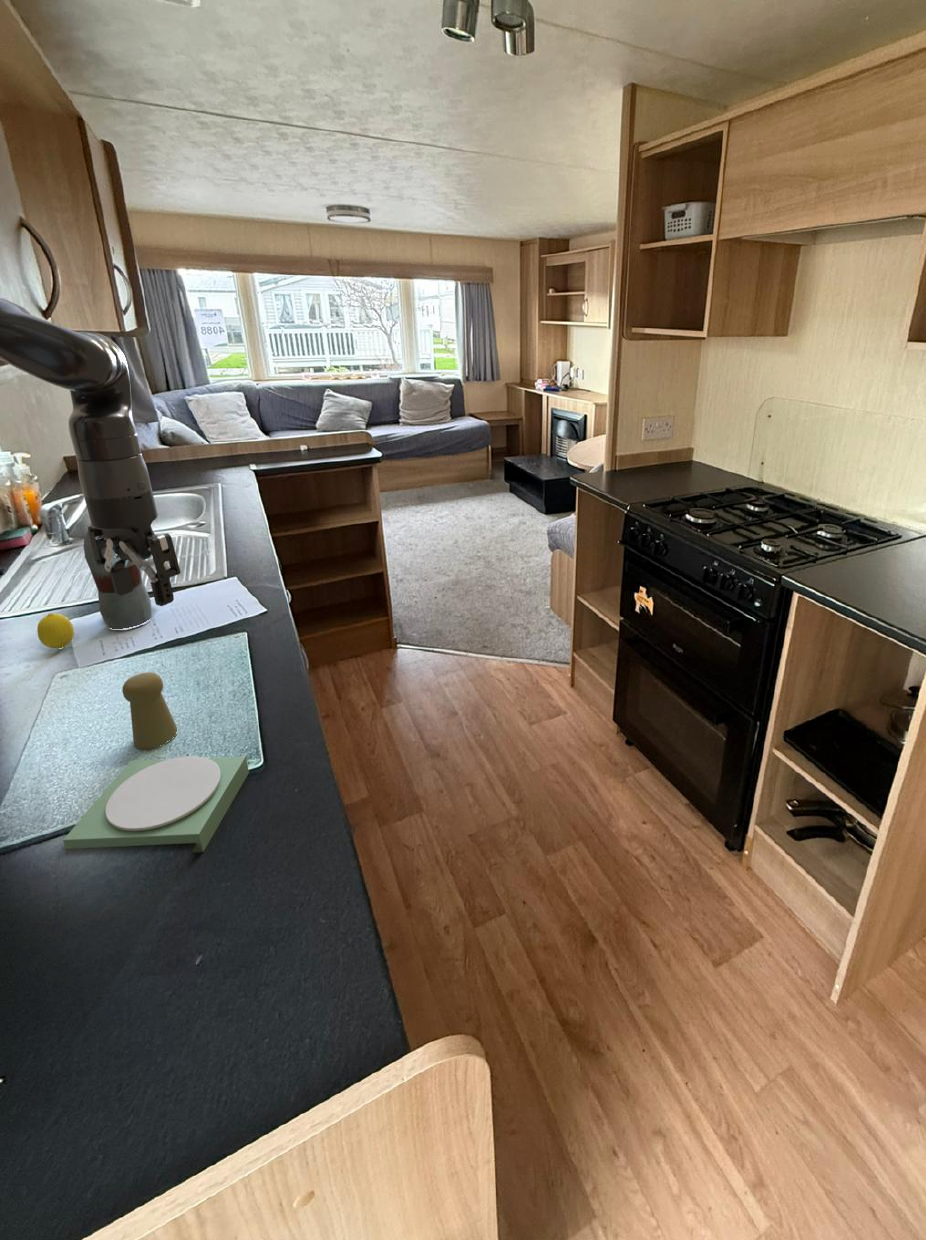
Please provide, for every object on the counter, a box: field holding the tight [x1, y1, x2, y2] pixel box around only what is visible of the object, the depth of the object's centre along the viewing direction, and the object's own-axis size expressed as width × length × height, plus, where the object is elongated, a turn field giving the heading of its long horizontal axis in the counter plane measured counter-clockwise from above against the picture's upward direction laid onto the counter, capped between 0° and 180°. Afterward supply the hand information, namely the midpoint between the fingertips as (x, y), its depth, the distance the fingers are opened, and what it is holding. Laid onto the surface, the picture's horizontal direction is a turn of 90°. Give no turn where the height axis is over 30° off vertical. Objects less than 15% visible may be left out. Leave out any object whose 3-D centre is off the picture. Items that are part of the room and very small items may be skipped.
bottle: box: [83, 523, 153, 629], centre depth 125 cm, size 9×9×30 cm
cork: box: [121, 671, 178, 751], centre depth 92 cm, size 6×6×11 cm
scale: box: [62, 755, 250, 854], centre depth 79 cm, size 16×14×4 cm
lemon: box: [36, 612, 75, 649], centre depth 118 cm, size 6×6×8 cm
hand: (145, 598), depth 85 cm, fingers open, 8 cm apart
